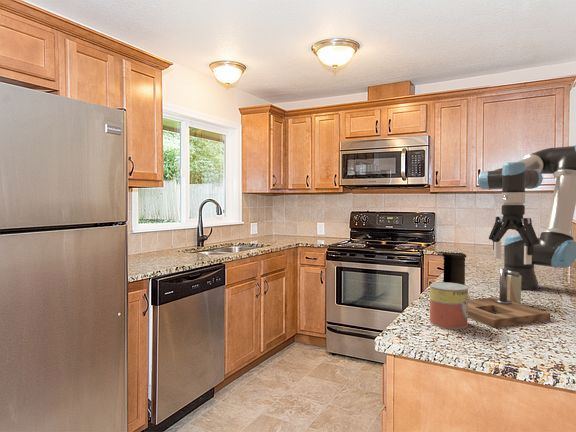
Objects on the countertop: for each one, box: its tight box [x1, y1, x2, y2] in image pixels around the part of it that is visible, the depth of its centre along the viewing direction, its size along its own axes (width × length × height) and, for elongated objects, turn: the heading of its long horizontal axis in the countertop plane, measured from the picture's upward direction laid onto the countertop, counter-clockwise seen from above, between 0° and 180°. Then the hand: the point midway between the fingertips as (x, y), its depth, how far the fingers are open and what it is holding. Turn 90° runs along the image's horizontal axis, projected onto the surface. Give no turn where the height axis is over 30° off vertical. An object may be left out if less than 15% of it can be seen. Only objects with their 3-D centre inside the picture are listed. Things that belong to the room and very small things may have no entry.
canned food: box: [429, 281, 469, 330], centre depth 129 cm, size 11×11×12 cm
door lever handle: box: [495, 267, 520, 304], centre depth 142 cm, size 5×8×12 cm, turn 17°
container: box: [442, 252, 467, 285], centre depth 158 cm, size 9×9×18 cm
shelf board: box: [468, 296, 551, 329], centre depth 138 cm, size 23×22×2 cm
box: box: [507, 275, 522, 304], centre depth 151 cm, size 5×4×11 cm
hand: (511, 261), depth 151 cm, fingers open, 13 cm apart
